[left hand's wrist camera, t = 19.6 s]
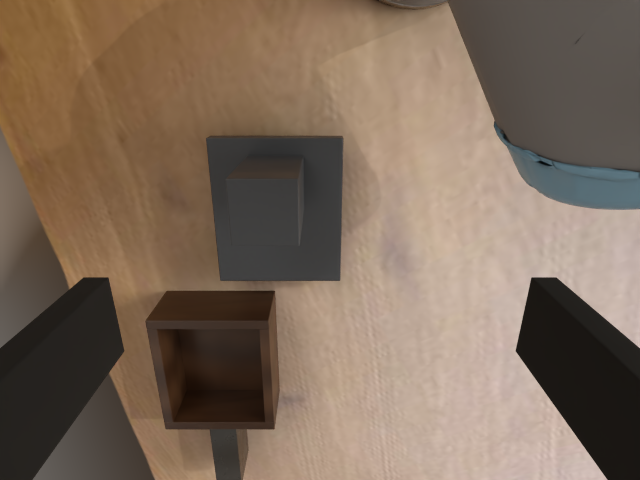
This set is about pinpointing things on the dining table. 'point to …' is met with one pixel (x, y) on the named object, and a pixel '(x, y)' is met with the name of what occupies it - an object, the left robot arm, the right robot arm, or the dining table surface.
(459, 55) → the dining table surface
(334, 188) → the lid
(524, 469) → the dining table surface
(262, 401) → the box
